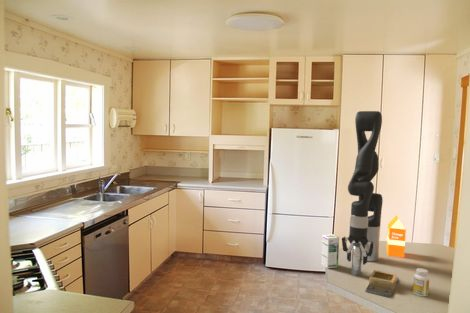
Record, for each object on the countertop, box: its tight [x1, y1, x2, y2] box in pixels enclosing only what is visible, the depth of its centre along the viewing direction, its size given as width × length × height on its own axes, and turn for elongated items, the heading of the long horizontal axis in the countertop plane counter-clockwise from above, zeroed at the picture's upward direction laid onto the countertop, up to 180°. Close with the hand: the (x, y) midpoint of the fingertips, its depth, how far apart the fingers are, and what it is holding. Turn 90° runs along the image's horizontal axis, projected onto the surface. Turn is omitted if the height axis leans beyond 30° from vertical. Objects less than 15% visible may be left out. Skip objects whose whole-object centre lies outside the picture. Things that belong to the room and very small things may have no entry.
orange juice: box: [386, 214, 407, 258], centre depth 188 cm, size 8×9×20 cm
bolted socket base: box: [365, 269, 399, 298], centre depth 149 cm, size 21×9×4 cm, turn 148°
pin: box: [350, 242, 363, 277], centre depth 159 cm, size 5×5×15 cm
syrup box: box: [320, 233, 340, 270], centre depth 168 cm, size 6×6×14 cm
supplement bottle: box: [412, 267, 430, 297], centre depth 142 cm, size 5×5×10 cm
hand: (356, 262), depth 159 cm, fingers open, 5 cm apart
